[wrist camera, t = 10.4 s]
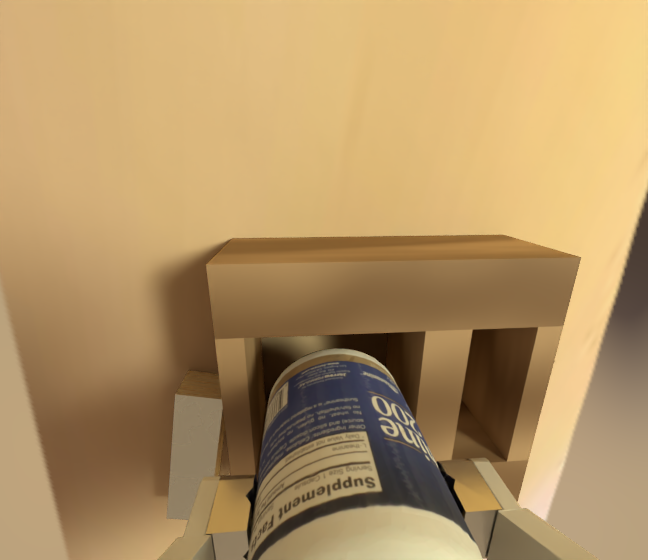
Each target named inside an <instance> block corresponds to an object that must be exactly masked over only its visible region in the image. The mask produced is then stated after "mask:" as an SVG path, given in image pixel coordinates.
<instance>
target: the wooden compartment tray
mask: <svg viewBox="0 0 648 560" xmlns="http://www.w3.org/2000/svg"><path fill="white" fill-rule="evenodd" d="M580 260H581V257H578V256H574V255H571V254H568V253H564V252H561V251H557V250H554V249H550V248H547V247H543V246H540V245H536V244H533V243H530V242H526V241H523V240H519V239H516V238H512V237H509V236H505V235H459V236H383V237H308V238H232V239H231V240H230V241H229V242H228V243H227V244H226V245H225V246H224V247H223V248H222V249H221V250H220V251H219V252H218V253H217V254H216V255H215V256H214V257H213V258H212V259H211V260H210V261H209V262H208V263H207V264H206V270H207V278H208V287H209V296H210V304H211V313H212V321H213V330H214V338H215V347H216V355H217V364H218V372H219V381H220V389H221V398H222V406H223V415H224V423H225V432H226V440H227V449H228V457H229V466H230V474H231V475H256V477H257V480H258V473H259V466H260V456H261V449H262V442H263V434H264V427H265V419H266V413H267V407H268V406H266V404H265V389H264V374H263V359H262V344H261V337H287V336H314V335H341V334H367V333H388V343H387V357H386V369H387V370H388V371H389V373H390V374H391V375H392V377H393V379H394V380H395V382H396V384H397V386H398V388H399V389H400V391H401V393H402V395H403V397H404V399H405V401H406V403H407V405H408V407H409V409H410V411H411V413H412V415H413V417H414V419H415V421H416V423H417V425H418V427H419V429H420V431H421V433H422V435H423V437H424V439H425V441H426V443H427V445H428V447H429V449H430V451H431V453H432V455H433V457H434V459H435V461H436V462H437V461H444V460H456V459H472V458H486V459H487V460H489V462H490V463H491V465H492V466H493V468H494V469H495V471H496V472H497V473H498V475H499V476H500V478H501V479H502V481H503V482H504V484H505V485H506V487H507V488H508V489H509V491H510V492H511V494H512V495H513V497H514V498H515V500H516V501H518V498H519V494H520V490H521V486H522V482H523V478H524V475H525V471H526V467H527V463H528V459H529V455H530V452H531V448H532V444H533V440H534V436H535V432H536V429H537V425H538V421H539V417H540V413H541V409H542V406H543V402H544V398H545V394H546V390H547V386H548V383H549V379H550V375H551V371H552V367H553V363H554V359H555V356H556V352H557V348H558V344H559V340H560V336H561V333H562V329H563V325H564V321H565V317H566V313H567V310H568V306H569V302H570V298H571V294H572V290H573V287H574V283H575V279H576V275H577V271H578V267H579V264H580Z"/></svg>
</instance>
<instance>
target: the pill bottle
mask: <svg viewBox="0 0 648 560" xmlns="http://www.w3.org/2000/svg"><path fill="white" fill-rule="evenodd" d="M247 560H483V558H482V556H481V553H480V551H479V548H478V546H477V544H476V542H475V540H474V538H473V536H472V534H471V532H470V530H469V528H468V526H467V524H466V522H465V520H464V518H463V516H462V514H461V512H460V510H459V508H458V506H457V504H456V502H455V500H454V498H453V496H452V494H451V492H450V490H449V488H448V486H447V484H446V482H445V480H444V478H443V476H442V474H441V472H440V470H439V468H438V465H437V463H436V461H435V459H434V457H433V455H432V453H431V451H430V449H429V447H428V445H427V443H426V441H425V439H424V437H423V435H422V433H421V431H420V429H419V427H418V425H417V423H416V421H415V419H414V417H413V415H412V413H411V411H410V409H409V407H408V405H407V403H406V401H405V399H404V397H403V395H402V393H401V391H400V389H399V388H398V386H397V384H396V382H395V380H394V379H393V377H392V375H391V374H390V373H389V371H388V370H387V369H386V368H385V366H383V365H382V364H381V363H379V362H378V361H377V360H376V359H375V358H373V357H371V356H369V355H368V354H365V353H363V352H359V351H356V350H350V349H340V348H334V349H325V350H320V351H316V352H313V353H311V354H308V355H306V356H304V357H302V358H300V359H298V360H297V361H295V362H294V363H293V364H291V365H290V366H289V367H288V368H287V369H285V370H284V371H283V373H282V374H281V375H280V376H279V378H278V379H277V381H276V383H275V384H274V386H273V388H272V390H271V393H270V397H269V401H268V407H267V413H266V419H265V427H264V434H263V442H262V449H261V456H260V466H259V473H258V480H257V488H256V497H255V505H254V511H253V521H252V528H251V536H250V545H249V551H248V559H247Z"/></svg>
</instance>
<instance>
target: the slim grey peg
mask: <svg viewBox="0 0 648 560" xmlns="http://www.w3.org/2000/svg"><path fill="white" fill-rule="evenodd" d="M224 434H225V423H224V415H223V406H222V398H221V389H220V381H219V374H217V373H208V372H200V371H191V370H189V371H188V372H187V374H186V376H185V378H184V380H183V381H182V383H181V385H180V387H179V388H178V390H177V392H176V394H175V403H174V418H173V433H172V448H171V463H170V478H169V493H168V508H167V519H182V520H189V517H190V514H191V511H192V507H193V504H194V501H195V498H196V495H197V492H198V488H199V485H200V482H201V481H202V479H203V477H213V476H219V473H220V465H221V457H222V449H223V441H224Z"/></svg>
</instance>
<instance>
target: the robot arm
mask: <svg viewBox="0 0 648 560" xmlns="http://www.w3.org/2000/svg"><path fill="white" fill-rule="evenodd" d="M436 463H437V465H438V468H439V470H440V472H441V474H442V476H443V478H444V480H445V482H446V484H447V486H448V488H449V490H450V492H451V494H452V496H453V498H454V500H455V502H456V504H457V506H458V508H459V510H460V512H461V514H462V516H463V518H464V520H465V522H466V524H467V526H468V528H469V530H470V532H471V534H472V536H473V538H474V540H475V542H476V544H477V546H478V548H479V551H480V553H481V556H482V558H487V560H599V559H598V558H597V557H595V556H594V555H592V554H591V553H589V552H588V551H587V550H585V549H584V548H582V547H581V546H579V545H578V544H577V543H575V542H574V541H572V540H571V539H569V538H568V537H566V536H565V535H564V534H562V533H561V532H560V531H558V530H557V529H555V528H554V527H552V526H551V525H550V524H548V523H547V522H545V521H544V520H543V519H541V518H540V517H538V516H537V515H535V514H534V513H533V512H531V511H530V510H528V509H527V508H523V509H522V508H521V507H520V505H519V504H518V503H517V501H516V500H515V498H514V497H513V495H512V494H511V492H510V491H509V489H508V488H507V487H506V485H505V484H504V482H503V481H502V479H501V478H500V476H499V475H498V473H497V472H496V471H495V469H494V468H493V466H492V465H491V463H490V462H489V460H487V459H486V458H472V459H456V460H444V461H437V462H436ZM256 488H257V477H256V475H231V476H213V477H203V479H202V481H201V482H200V485H199V488H198V492H197V495H196V498H195V501H194V504H193V507H192V511H191V514H190V517H189V520H188V523H187V526H186V530H185V533H184V536H183V537H179V538H177V539H176V540H175V541H174V542H173V543H172V544H171V545H170V546H169V548H168V549H167V550H166V551H165V552H164V553H163V554H162V555H161V556H160V557H159V559H158V560H247V559H248V551H249V545H250V536H251V528H252V521H253V511H254V505H255V497H256Z"/></svg>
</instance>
